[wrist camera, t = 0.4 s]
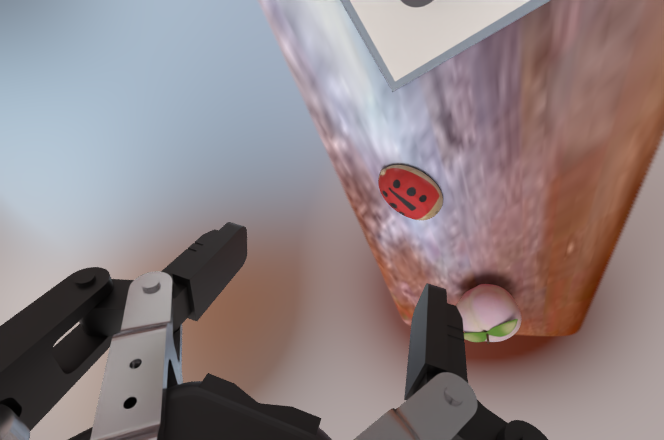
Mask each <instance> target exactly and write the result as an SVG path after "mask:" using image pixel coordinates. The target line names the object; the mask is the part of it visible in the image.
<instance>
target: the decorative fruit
mask: <svg viewBox="0 0 664 440" xmlns="http://www.w3.org/2000/svg"><path fill="white" fill-rule="evenodd" d="M456 306H457V308H458V310H459V312H460V314H461V316H462V318H463V331H464V332H465V333H464V339H466V340H469V341H473V342H482V341H487V343H488V344H489V342H499V341H503V340H506V339H508V338H510V337H511V336H513V335H514V334H515V333H516V332H517V331H518V329H519V327H520V325H521V313H520V310H519V307H518V305H517V303H516V301H515V300H514V298H513V297H512V296H511V294H510V293H509V292H508V291H506V290H505V289H503V288H502V287H500V286H497V285H492V284H480V285H478V286H476V287H475V288H472V289H470V290H468V291H467V292H466V293H465V294H464V295H463V296H462V297H461V298H460V300H459V301H458V303H457V305H456Z"/></svg>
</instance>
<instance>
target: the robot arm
mask: <svg viewBox="0 0 664 440" xmlns="http://www.w3.org/2000/svg"><path fill="white" fill-rule="evenodd" d="M246 257H247V230H246V227H244V226H241V225H237V224H234V223H231V222H228V223H226V224H225V225H224V226H223V227H222V228H221V229H220V230H219V231H218V230H212V231H210V232H208V233H206V234H204V235H202V236H201V237H200V238H199V239H198V240H197V241H195V243H193V244H192V245H191V246H190V247H189V248H188V250H187V249H186V250H185V251H184V252H183V253H182V254H181V255H179V257H177V258H176V259H175V260H174V261H173V262H172V263H171V264H169V265H168V266H167V267H166V268H165V269H164V270H162V271H161V272H149V273H146V274H143V275H141V276H140V277H138V278H136V279H135V280H119V279H111V277H110V274H109V272H108V271H107V270H106V269H103V268H99V267H93V268H86V269H82V270H79V271H77V272H75V273H73V274H71V275H70V276H68V277H67V278H66V279H64V280H63V281H62V282H60V283H59V284H57V285H56V286H55V287H53V288H52V289H51V290H50V291H48V292H46V293H45V294H44V295H42V296H41V297H40V298H38V299H37V300H36V301H34V302H33V303H31V304H30V305H29V306H28V307H26V308H25V309H23V310H22V311H20V312H19V313H18V314H16V315H15V316H14V317H12V318H11V319H10V320H8V321H7V322H5V323H4V324H3V325H1V326H0V440H29V438H30V431H31V430H32V429H33V428H34V426H35V425H36V424H37V423H38V422H39V421H40V420H41V419H42V418H43V417H44V416H45V415H46V414H47V413H48V412H49V411H50V410H51V409H52V407H53V406H54V405H55V404H56V403H57V402H58V401H59V400H60V399H61V398H62V397H63V396H64V395H65V394H66V393H67V391H69V389H70V388H71V387H72V386H73V385H74V384H75V383H76V382H77V381H78V380H79V379H80V378H81V377H82V376H83V375H84V374H85V373H86V372H87V371H88V369H89V368H90V367H91V366H92V365H93V364H94V363H95V362H96V361H97V360H98V359H99V358H100V357H101V356H102V355H103V354H104V353H105V351H106V350H107V349H108V348H109V347H110V350H109V354H108V359H107V364H106V368H105V373H104V378H103V382H102V387H101V392H100V396H99V401H98V406H97V410H96V415H95V420H94V424H93V427H92V428H90V429H88V430H86V431H84V432H82V433H80V434H78V435H76V436H74V437H72V438H70V439H68V440H331V438H330V437H329V436H328V435H327V434H326V433H325V432H324V431H323V430H321V429H320V428H319V425H320V421H321V418H319V417H317V416H314V415H312V414H309V413H307V412H304V411H301V410H299V409H296V408H294V407H290V406H279V405H270V404H260V403H258V402H256V401H255V400H254V399H253V398H251V397H250V396H249V395H248V394H246V393H245V392H244V391H243V390H241V389H240V388H239V387H238V386H237V385H235V384H234V383H231V382H229V381H226V380H224V379H221V378H219V377H216V376H214V375H211V374H209V373H208V374H207V375H206V377H205V378H204V380H203V381H201V382H200V381H197V382H187V383H183V379H182V323H183V322H184V321H185V320H186V319H187V318H189V319H192V320H195V321H198V319H199V318H200V317H201V316H202V315H203V313H204V312H205V311H206V310H207V308H208V307H209V306H210V305H211V303H212V302H213V301H214V300H215V299H216V297H217V296H218V295H219V294H220V293H221V291H222V290H223V289H224V288H225V287H226V285H227V284H228V283H229V282H230V281H231V279H232V278H233V277H234V276H235V274H236V273H237V272H238V271H239V270H240V268H241V267H242V266H243V264H244V262H245V260H246ZM77 322H80V324H79V325H78V326H77V327H76V328H74V329H73V330H72V331H71V332H70V333H69V334H68V335H67V336H65V337H64V338H63V339H62V340H61V341H60V342H59V343H58V344H57V345H55V346H54V344H55V343H56V341H57V340H58V339H59V338H60V337H61V336H63V335H64V334H65V333H66V332H67V331H68V330H69V329H71V328H72V327H73V326H74V325H75V324H76V323H77ZM53 346H54V347H53ZM466 370H467V369H466V355H465V343H464V332H463V318H462V316H461V314H460V312H459V310H458V308H457V306H454V305H451V304H448V303H447V292H446V289H444V288H441V287H437V286H434V285H431V284H426V286H425V288H424V290H423V292H422V294H421V296H420V299H419V301H418V303H417V305H416V308H415V310H414V314H413V318H412V324H411V334H410V345H409V356H408V366H407V378H406V387H405V400H407V401H406V402H404V403H403V404H402V405H401V406H400V407H398V408H397V409H394V408H393V409H391V410H389V411H388V412H386V413H385V414H384V415H383V416H381V417H380V418H379V419H378V420H377V421H375V422H374V423H373V424H372V425H371V426H369V427H368V428H367V429H366V430H365V431H363V432H362V433H361V434H360V435H359V436H357V437H356V438H355V439H354V440H548V439H547V438H546V436H545V435H544V434H542V432H541V431H540V430H538V429H537V428H536V427H534V426H533V425H531V424H529V423H527V422H524V421H520V420H514V421H511V422H509V423H507V422H505V421H504V420H502V419H501V418H499V417H498V416H497V415H495V414H494V413H492V412H491V411H489V410H488V409H487V408H485V407H484V406H483V405H482V404H481V403H480V402H479V401H478V400H477V398H476V395H475V393H474V391H473V389H472V388H471V386H470V385H469V384H468V380H467V371H466Z"/></svg>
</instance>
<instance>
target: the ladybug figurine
mask: <svg viewBox="0 0 664 440" xmlns="http://www.w3.org/2000/svg"><path fill="white" fill-rule="evenodd" d="M378 183H379V188H380V191H381V194H382V196H383V197H384V199H385V200H386V202H387V203H388V204H389V205H390V206H391V207H392V208H393V209H395V210H396V211H397V212H399V213H401V214H402V215H404V216H406V217H409V218H412V219H415V220H427V219H430V218H432V217H434V216H435V215H436V214H437V213H438V212H439V211H440V209H441V207H442V204H443V197H442V193H441V191H440V189H439V187H438V186H437V185H436V183H435V182H434V181H433V180H432V179H431V178H430V177H428V176H427V175H426V174H424V173H423V172H421V171H419V170H417V169H415V168H412V167H409V166H405V165H392V166H389V167H387V168H385V169H382V170H381V172H380V175H379V180H378Z"/></svg>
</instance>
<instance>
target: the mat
mask: <svg viewBox="0 0 664 440" xmlns="http://www.w3.org/2000/svg"><path fill="white" fill-rule="evenodd" d="M340 1H341V2H342V4H343V6H344V8H345V9H346V11H347V13H348V15H349V16H350V18H351V20H352V22H353V23H354V25H355V27H356V29H357V30H358V32H359V34H360V36H361V37H362V39H363V41H364V43H365V44H366V46H367V48H368V50H369V51H370V53H371V55H372V57H373V58H374V60H375V62H376V64H377V65H378V67H379V69H380V71H381V72H382V74H383V76H384V78H385V79H386V81H387V83H388V85H389V86H390V88H391V90H392V92H394V91H395V90H397V89H399V88H400V87H402V86H404V85H406V84H407V83H409V82H411V81H413V80H414V79H416V78H418V77H419V76H421V75H423V74H425V73H426V72H428V71H430V70H431V69H433V68H435V67H437V66H438V65H440V64H442V63H443V62H445V61H447V60H449V59H450V58H452V57H454V56H456V55H457V54H459V53H461V52H462V51H464V50H466V49H468V48H469V47H471V46H473V45H474V44H476V43H478V42H480V41H481V40H483V39H485V38H486V37H488V36H490V35H492V34H493V33H495V32H497V31H499V30H500V29H502V28H504V27H505V26H507V25H509V24H511V23H512V22H514V21H516V20H517V19H519V18H521V17H523V16H524V15H526V14H528V13H529V12H531V11H533V10H535V9H536V8H538V7H540V6H542V5H543V4H545V3H547V2H548V1H550V0H530V1H528V2H527V3H525V4H523V5H522V6H520V7H518V8H517V9H515V10H513V11H512V12H510V13H508V14H507V15H505V16H503V17H502V18H500V19H498V20H497V21H495V22H493V23H492V24H490V25H488V26H487V27H485V28H484V29H482V30H480V31H479V32H477V33H475V34H474V35H472V36H470V37H469V38H467V39H465V40H464V41H462V42H460V43H459V44H457V45H455V46H454V47H452V48H450V49H449V50H447V51H445V52H444V53H442V54H440V55H439V56H437V57H435V58H434V59H432V60H430V61H429V62H427V63H425V64H424V65H422V66H420V67H419V68H417V69H415V70H414V71H412V72H410V73H409V74H407V75H405V76H404V77H402V78H400V79H399V80H397V81H394V79H393V77H392V75H391V73H390V72H389V70H388V68H387V66H386V64H385V63H384V61H383V59H382V57H381V55H380V54H379V52H378V50H377V48H376V46H375V45H374V43H373V41H372V39H371V38H370V36H369V34H368V32H367V30H366V29H365V27H364V25H363V23H362V21H361V20H360V18H359V16H358V14H357V12H356V11H355V9H354V7H353V5H352V3H351V2H350V0H340Z"/></svg>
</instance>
